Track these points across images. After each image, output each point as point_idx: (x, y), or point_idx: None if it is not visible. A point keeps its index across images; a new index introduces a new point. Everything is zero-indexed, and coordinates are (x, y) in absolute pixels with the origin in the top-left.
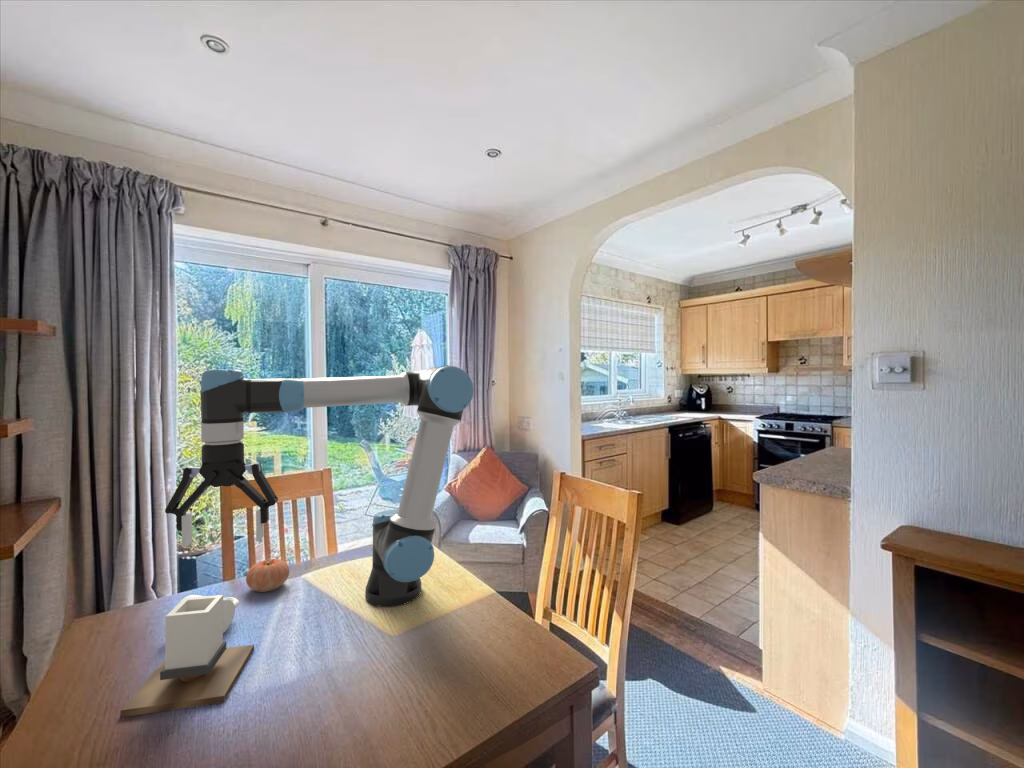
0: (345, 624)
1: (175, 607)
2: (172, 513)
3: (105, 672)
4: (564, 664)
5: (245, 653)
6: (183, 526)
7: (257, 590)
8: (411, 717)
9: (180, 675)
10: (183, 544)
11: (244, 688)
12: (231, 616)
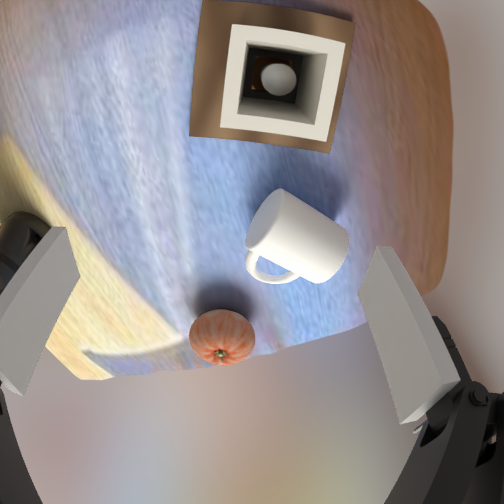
0: (66, 177)
1: (335, 88)
2: (490, 394)
3: (404, 156)
4: None
5: (197, 110)
6: (429, 326)
7: (233, 311)
8: None
9: None
10: (392, 256)
11: (180, 27)
12: (250, 230)
